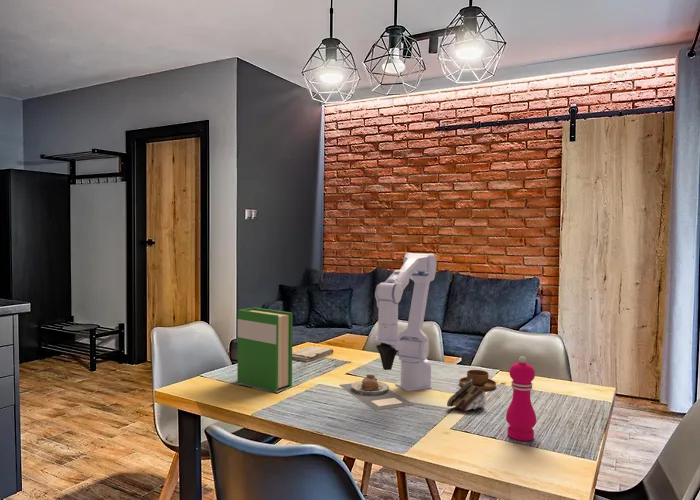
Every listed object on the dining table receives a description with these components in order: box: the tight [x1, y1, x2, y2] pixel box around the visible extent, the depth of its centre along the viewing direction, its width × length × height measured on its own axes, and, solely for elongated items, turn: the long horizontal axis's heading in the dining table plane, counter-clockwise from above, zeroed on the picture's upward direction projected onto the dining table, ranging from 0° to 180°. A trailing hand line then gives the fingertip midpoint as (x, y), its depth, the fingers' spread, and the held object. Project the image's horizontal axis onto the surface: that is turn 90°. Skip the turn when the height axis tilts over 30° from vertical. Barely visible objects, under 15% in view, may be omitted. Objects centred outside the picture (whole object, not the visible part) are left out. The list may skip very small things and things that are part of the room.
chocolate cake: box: [446, 379, 487, 412], centre depth 150 cm, size 10×7×12 cm
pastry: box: [351, 374, 390, 395], centre depth 166 cm, size 12×12×5 cm
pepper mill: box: [505, 355, 537, 442], centre depth 130 cm, size 7×7×20 cm
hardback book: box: [236, 307, 294, 392], centre depth 171 cm, size 18×7×24 cm, turn 54°
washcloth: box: [292, 345, 334, 363], centre depth 210 cm, size 12×18×3 cm, turn 149°
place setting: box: [455, 369, 506, 392], centre depth 171 cm, size 18×20×6 cm
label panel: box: [339, 382, 415, 411], centre depth 162 cm, size 13×26×1 cm, turn 24°
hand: (387, 369), depth 154 cm, fingers closed
